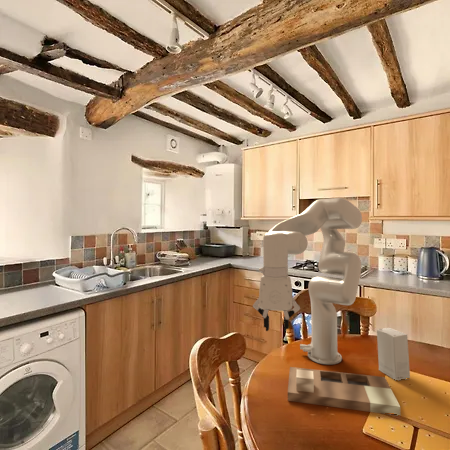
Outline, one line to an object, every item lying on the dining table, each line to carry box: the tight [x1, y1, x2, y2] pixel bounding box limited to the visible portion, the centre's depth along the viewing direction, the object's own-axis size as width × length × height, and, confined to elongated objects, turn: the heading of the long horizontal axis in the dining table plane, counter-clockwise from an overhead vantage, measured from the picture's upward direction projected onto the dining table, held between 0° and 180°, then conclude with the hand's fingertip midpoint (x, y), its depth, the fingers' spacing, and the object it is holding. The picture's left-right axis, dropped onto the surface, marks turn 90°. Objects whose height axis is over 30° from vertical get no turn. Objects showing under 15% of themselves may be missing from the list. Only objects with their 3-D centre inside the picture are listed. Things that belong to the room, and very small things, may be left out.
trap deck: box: [287, 366, 401, 416], centre depth 93 cm, size 30×16×2 cm, turn 75°
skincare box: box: [376, 327, 411, 381], centre depth 103 cm, size 8×6×15 cm
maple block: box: [296, 369, 314, 393], centre depth 91 cm, size 5×5×4 cm
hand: (276, 329), depth 93 cm, fingers open, 4 cm apart
